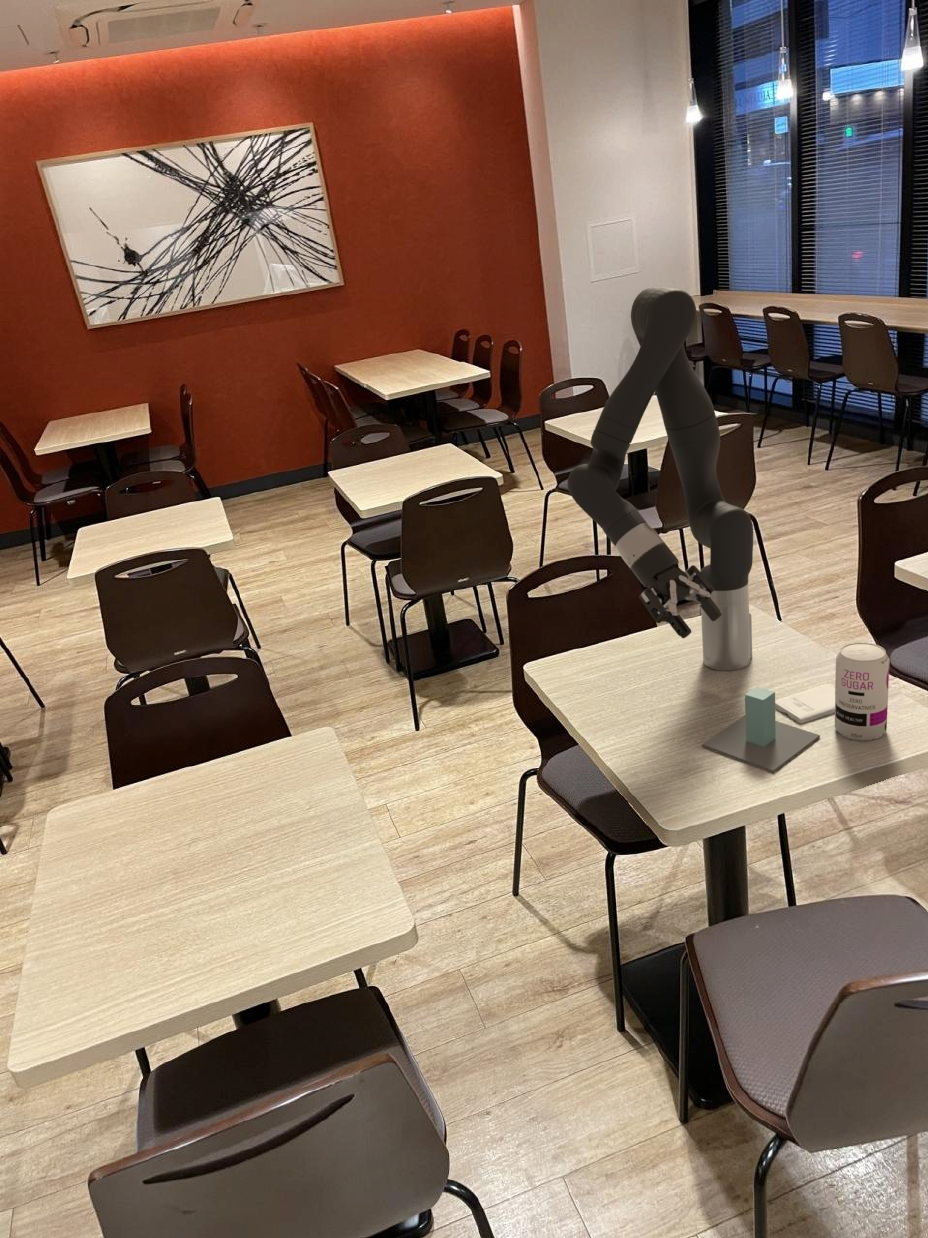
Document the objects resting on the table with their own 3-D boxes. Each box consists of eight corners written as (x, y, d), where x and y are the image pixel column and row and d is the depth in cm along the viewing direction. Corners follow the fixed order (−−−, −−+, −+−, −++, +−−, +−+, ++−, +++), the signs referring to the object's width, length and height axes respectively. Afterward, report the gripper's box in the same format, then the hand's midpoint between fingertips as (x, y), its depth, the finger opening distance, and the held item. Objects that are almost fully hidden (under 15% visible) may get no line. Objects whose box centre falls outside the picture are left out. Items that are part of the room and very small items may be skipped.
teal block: (757, 732, 164) (756, 686, 160) (775, 738, 161) (775, 691, 158) (746, 740, 162) (744, 694, 158) (764, 747, 159) (763, 700, 156)
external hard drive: (858, 707, 169) (800, 726, 166) (827, 690, 176) (771, 707, 173) (858, 699, 168) (800, 718, 165) (827, 682, 176) (771, 699, 172)
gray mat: (748, 714, 171) (748, 712, 171) (819, 737, 160) (820, 735, 160) (701, 746, 163) (701, 744, 163) (773, 772, 153) (773, 770, 152)
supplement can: (877, 717, 164) (880, 639, 159) (893, 741, 157) (896, 660, 151) (829, 720, 165) (830, 643, 160) (842, 744, 158) (843, 663, 152)
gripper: (631, 555, 160) (689, 630, 156) (682, 530, 168) (739, 602, 164) (609, 578, 166) (665, 652, 162) (660, 554, 174) (715, 623, 170)
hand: (703, 626), depth 163 cm, fingers open, 8 cm apart
